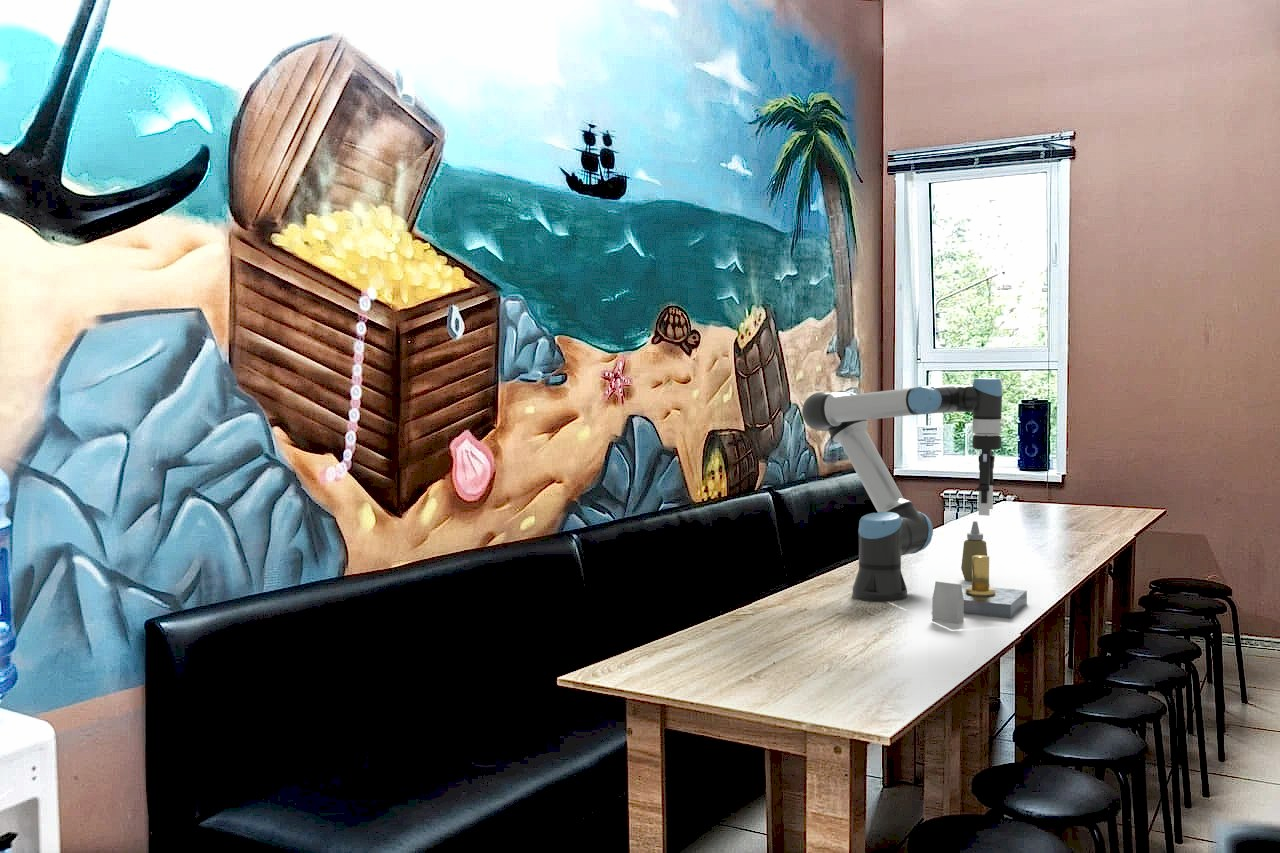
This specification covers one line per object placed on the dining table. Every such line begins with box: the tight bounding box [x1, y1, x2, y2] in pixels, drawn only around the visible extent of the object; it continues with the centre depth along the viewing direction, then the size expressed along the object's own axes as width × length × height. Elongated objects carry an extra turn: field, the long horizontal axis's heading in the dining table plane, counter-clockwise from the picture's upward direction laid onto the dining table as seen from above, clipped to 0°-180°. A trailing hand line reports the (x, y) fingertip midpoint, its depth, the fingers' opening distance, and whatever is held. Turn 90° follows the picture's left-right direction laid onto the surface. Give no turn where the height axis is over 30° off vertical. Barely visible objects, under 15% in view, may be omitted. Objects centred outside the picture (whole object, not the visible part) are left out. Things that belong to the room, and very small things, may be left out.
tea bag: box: [931, 580, 965, 624], centre depth 277 cm, size 4×7×10 cm, turn 51°
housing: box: [960, 583, 1028, 620], centre depth 292 cm, size 20×20×4 cm
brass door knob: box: [966, 555, 995, 597], centre depth 292 cm, size 8×8×14 cm
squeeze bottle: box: [960, 520, 988, 583], centre depth 329 cm, size 8×8×18 cm
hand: (985, 512), depth 298 cm, fingers open, 13 cm apart
